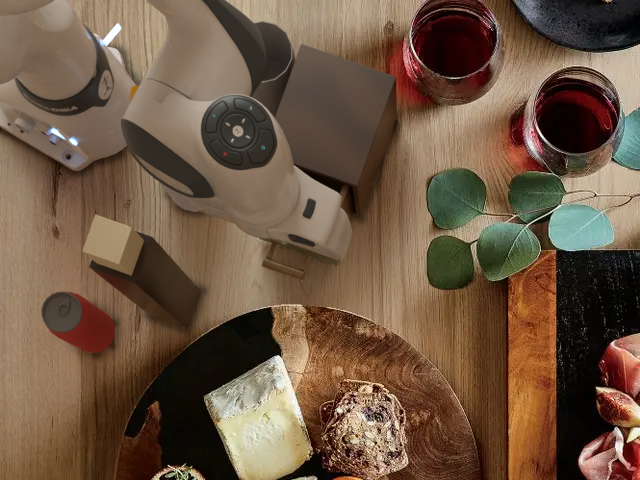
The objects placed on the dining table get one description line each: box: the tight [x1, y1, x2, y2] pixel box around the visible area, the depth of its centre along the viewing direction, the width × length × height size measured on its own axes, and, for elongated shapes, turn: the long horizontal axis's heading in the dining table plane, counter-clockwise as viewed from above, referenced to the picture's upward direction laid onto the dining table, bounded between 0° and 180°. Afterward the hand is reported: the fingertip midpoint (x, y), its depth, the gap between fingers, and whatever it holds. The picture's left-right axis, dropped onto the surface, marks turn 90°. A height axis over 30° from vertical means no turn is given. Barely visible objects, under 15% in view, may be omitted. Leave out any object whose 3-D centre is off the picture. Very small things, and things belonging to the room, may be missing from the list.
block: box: [82, 214, 144, 276], centre depth 96 cm, size 4×4×4 cm
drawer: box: [258, 167, 355, 281], centre depth 116 cm, size 19×12×10 cm, turn 160°
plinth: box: [88, 230, 202, 330], centre depth 110 cm, size 6×6×24 cm
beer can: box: [40, 290, 116, 354], centre depth 116 cm, size 7×7×12 cm
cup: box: [251, 20, 296, 118], centre depth 117 cm, size 8×8×10 cm
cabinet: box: [275, 43, 398, 218], centre depth 116 cm, size 16×14×12 cm
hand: (277, 235), depth 108 cm, fingers closed
